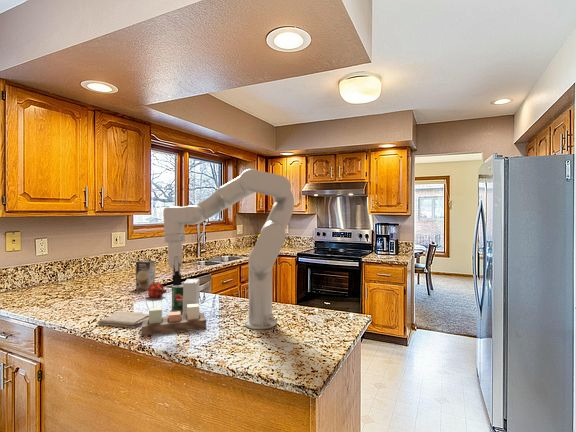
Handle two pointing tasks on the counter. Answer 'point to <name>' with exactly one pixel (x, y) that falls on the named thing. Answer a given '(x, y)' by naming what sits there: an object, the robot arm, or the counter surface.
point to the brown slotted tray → (173, 325)
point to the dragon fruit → (156, 290)
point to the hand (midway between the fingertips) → (177, 284)
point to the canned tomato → (177, 297)
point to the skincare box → (190, 293)
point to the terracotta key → (174, 316)
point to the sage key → (155, 315)
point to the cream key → (192, 311)
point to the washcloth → (124, 319)
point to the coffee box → (145, 274)
